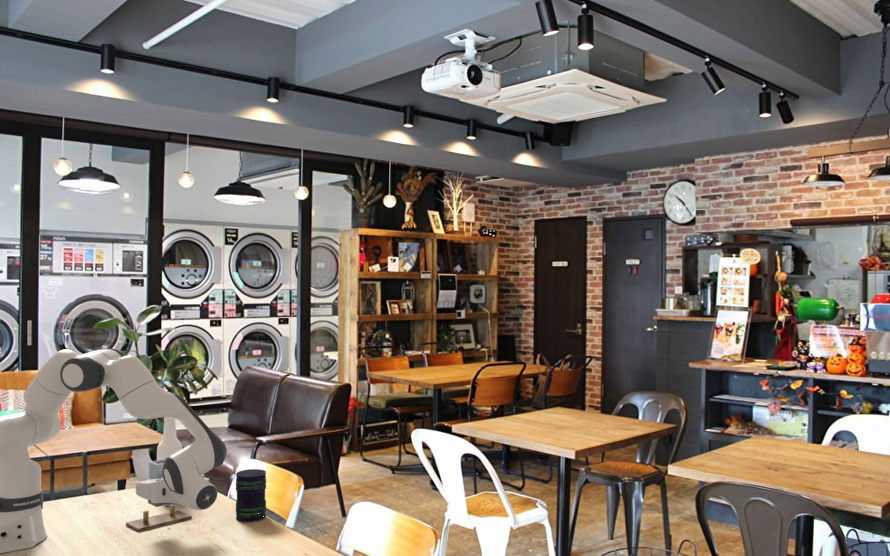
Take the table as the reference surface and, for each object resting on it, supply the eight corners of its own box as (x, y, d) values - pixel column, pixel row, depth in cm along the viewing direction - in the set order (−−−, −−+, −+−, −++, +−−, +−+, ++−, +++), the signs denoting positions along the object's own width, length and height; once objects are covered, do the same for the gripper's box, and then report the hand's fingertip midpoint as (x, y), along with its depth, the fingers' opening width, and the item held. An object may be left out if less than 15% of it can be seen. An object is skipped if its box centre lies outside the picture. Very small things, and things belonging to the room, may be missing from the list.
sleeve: (156, 507, 227) (156, 465, 227) (148, 503, 231) (148, 462, 231) (173, 503, 231) (173, 461, 231) (165, 499, 235) (165, 459, 235)
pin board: (138, 531, 232) (138, 517, 232) (125, 525, 238) (125, 511, 238) (191, 518, 245) (191, 505, 245) (178, 513, 251) (178, 499, 251)
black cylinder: (229, 520, 243) (229, 475, 243) (246, 511, 252) (246, 468, 253) (255, 523, 240) (255, 477, 240) (271, 514, 249) (272, 470, 249)
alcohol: (153, 499, 268) (153, 416, 268) (160, 492, 276) (161, 412, 277) (178, 498, 268) (178, 416, 269) (184, 491, 277) (185, 412, 278)
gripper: (212, 470, 230) (190, 463, 239) (148, 483, 215) (127, 474, 224) (212, 490, 230) (190, 482, 239) (148, 504, 215) (127, 495, 224)
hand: (159, 479), depth 232 cm, fingers closed on sleeve, 5 cm apart
